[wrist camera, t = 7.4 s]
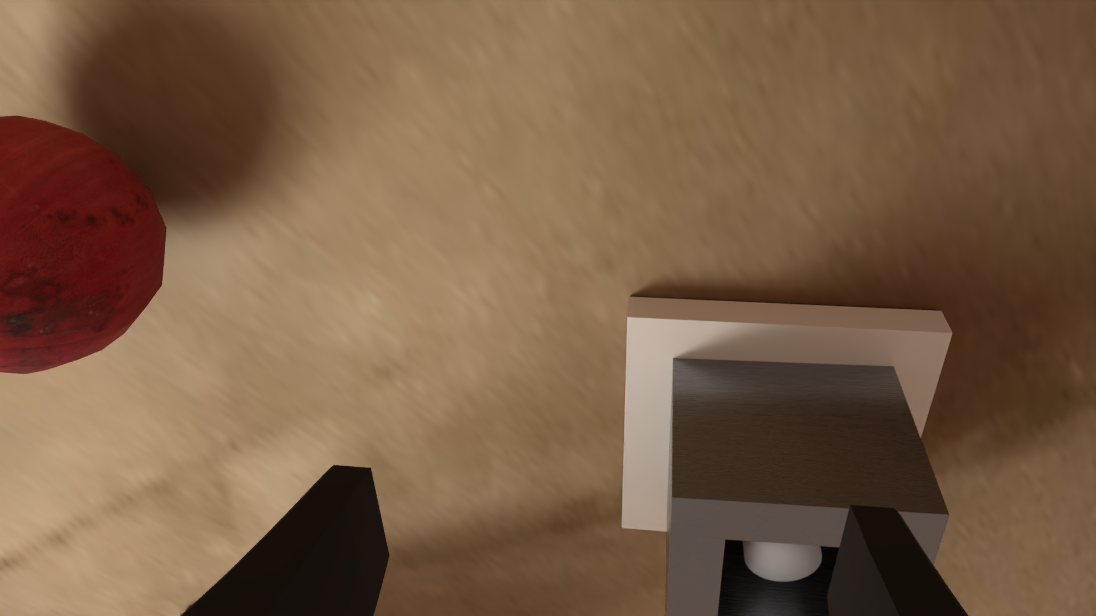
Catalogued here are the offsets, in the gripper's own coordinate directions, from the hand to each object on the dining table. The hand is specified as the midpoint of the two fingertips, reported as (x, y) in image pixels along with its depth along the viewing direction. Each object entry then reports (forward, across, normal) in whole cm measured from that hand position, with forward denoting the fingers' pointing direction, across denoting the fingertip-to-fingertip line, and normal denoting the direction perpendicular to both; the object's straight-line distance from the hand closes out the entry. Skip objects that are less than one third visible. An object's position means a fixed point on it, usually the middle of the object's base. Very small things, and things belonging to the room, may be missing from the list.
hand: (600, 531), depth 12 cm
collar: (+9, -4, +6) cm, 11 cm away
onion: (+10, +14, -1) cm, 17 cm away
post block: (+10, -4, +6) cm, 12 cm away
